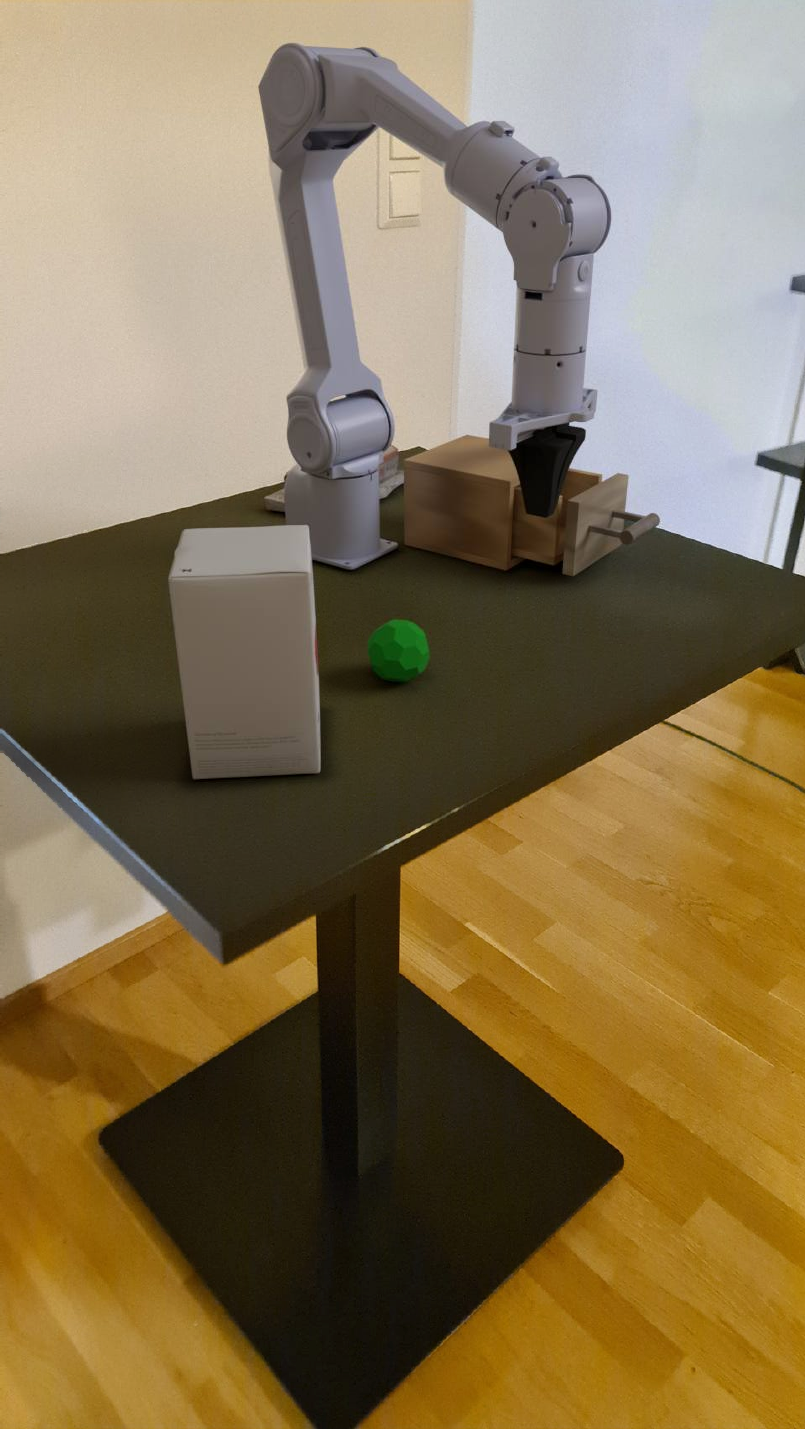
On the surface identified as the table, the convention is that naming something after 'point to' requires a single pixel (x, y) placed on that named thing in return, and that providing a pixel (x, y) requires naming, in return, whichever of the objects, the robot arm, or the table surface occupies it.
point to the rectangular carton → (247, 650)
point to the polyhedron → (398, 650)
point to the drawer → (578, 523)
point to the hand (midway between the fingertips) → (539, 513)
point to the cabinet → (462, 501)
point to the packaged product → (387, 480)
